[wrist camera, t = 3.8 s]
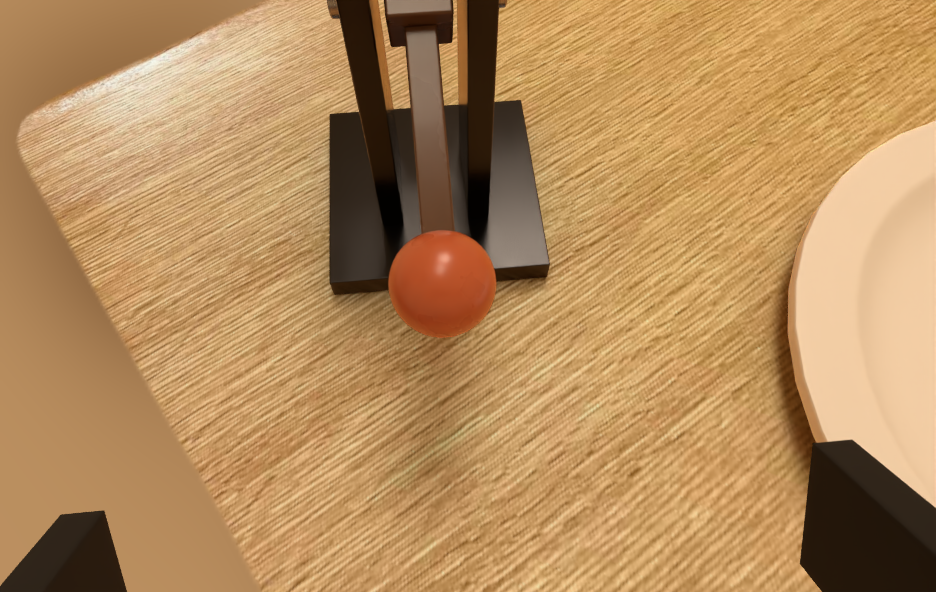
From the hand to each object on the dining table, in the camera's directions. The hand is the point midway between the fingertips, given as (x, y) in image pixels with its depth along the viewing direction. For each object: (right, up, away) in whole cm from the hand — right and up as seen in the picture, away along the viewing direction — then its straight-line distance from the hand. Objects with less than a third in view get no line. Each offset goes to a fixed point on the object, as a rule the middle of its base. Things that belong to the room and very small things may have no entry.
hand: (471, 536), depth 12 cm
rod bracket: (-2, +9, +21) cm, 23 cm away
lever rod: (-1, +10, +12) cm, 15 cm away
